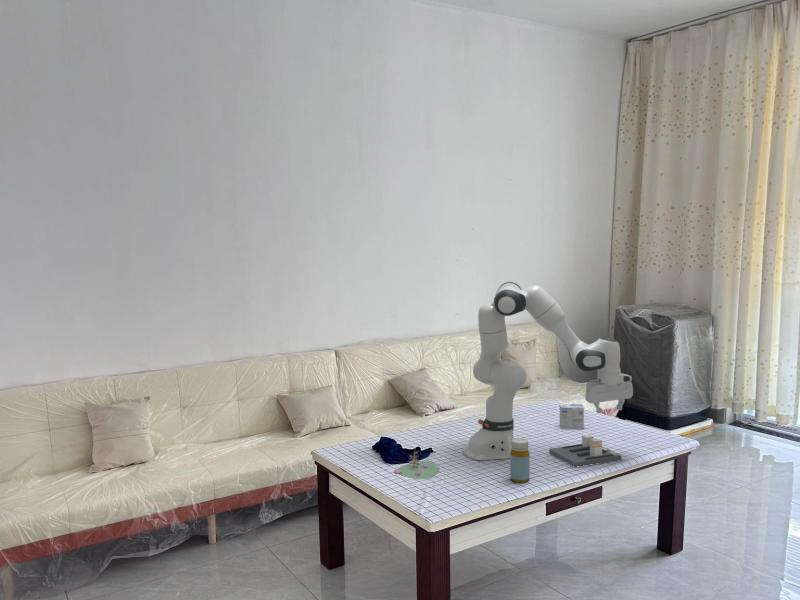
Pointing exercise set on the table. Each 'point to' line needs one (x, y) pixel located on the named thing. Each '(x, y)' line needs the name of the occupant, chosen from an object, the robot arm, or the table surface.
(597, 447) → the switch
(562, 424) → the light bulb box
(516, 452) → the bottle
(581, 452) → the switch panel
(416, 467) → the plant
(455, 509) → the table surface
